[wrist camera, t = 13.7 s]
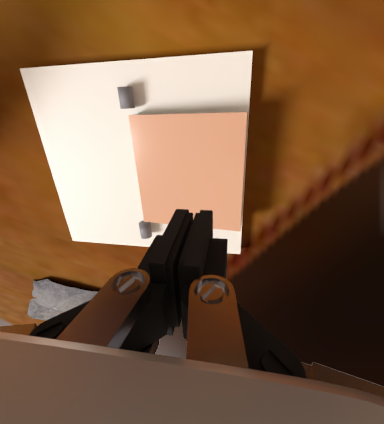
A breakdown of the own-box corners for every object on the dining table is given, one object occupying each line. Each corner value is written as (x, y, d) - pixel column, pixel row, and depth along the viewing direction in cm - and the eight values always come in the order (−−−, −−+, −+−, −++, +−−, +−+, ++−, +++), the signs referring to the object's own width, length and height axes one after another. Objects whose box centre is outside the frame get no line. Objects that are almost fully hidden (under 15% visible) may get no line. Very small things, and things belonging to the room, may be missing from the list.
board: (28, 69, 22) (6, 67, 20) (252, 52, 18) (253, 47, 16) (77, 236, 30) (65, 246, 28) (240, 248, 26) (240, 261, 24)
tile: (247, 112, 17) (248, 111, 18) (128, 115, 20) (135, 114, 21) (240, 231, 22) (241, 225, 23) (143, 221, 24) (149, 216, 25)
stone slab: (30, 321, 39) (11, 277, 33) (38, 311, 40) (21, 268, 35) (137, 344, 37) (134, 301, 32) (141, 333, 38) (138, 291, 33)
